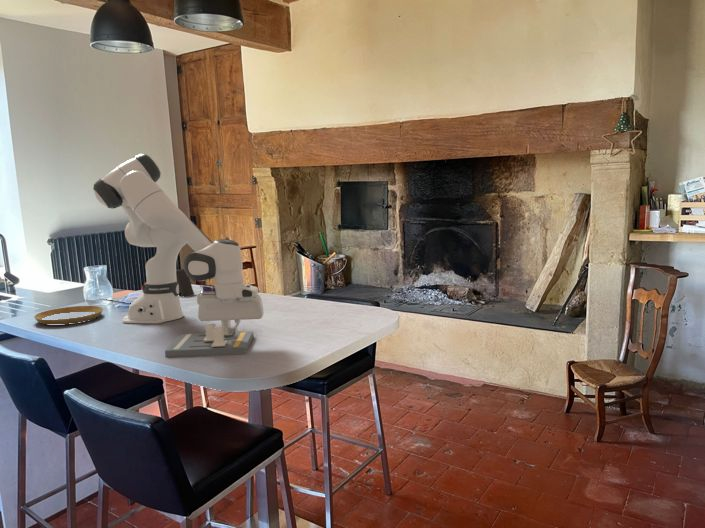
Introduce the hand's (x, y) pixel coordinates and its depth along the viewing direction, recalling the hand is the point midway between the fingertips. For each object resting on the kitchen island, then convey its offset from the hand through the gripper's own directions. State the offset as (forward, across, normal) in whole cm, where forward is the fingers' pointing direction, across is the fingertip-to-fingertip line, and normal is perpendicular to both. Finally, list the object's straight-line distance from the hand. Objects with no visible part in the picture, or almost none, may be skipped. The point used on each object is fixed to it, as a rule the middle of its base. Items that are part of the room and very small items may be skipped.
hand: (232, 333), depth 173 cm
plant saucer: (+5, -72, +44) cm, 84 cm away
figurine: (+4, -22, +80) cm, 83 cm away
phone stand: (+4, -39, +86) cm, 95 cm away
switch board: (+4, -7, 0) cm, 8 cm away
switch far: (+2, -3, +6) cm, 7 cm away
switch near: (+2, -3, -6) cm, 7 cm away
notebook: (+5, -62, +82) cm, 102 cm away
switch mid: (+2, -7, 0) cm, 7 cm away
